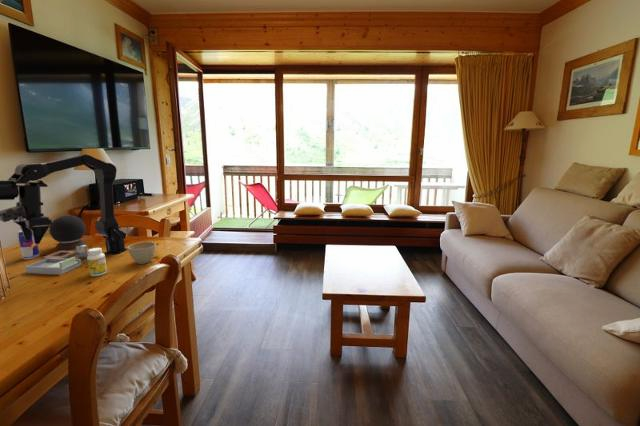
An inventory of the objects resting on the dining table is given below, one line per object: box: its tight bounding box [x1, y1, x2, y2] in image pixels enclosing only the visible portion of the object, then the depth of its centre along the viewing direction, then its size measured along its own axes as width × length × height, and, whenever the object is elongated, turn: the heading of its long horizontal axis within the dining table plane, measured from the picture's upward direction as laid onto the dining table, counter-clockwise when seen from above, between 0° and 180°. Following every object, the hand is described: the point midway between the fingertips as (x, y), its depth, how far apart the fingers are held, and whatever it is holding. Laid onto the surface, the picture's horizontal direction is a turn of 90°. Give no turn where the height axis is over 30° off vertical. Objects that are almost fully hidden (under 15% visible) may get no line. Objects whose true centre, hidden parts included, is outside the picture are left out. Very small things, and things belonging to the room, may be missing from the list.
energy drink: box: [16, 229, 40, 260], centre depth 129 cm, size 5×5×12 cm
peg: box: [75, 243, 89, 260], centre depth 130 cm, size 4×4×6 cm
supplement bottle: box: [86, 247, 108, 277], centre depth 114 cm, size 5×5×10 cm
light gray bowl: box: [127, 241, 157, 265], centre depth 126 cm, size 10×10×7 cm
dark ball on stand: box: [48, 214, 87, 251], centre depth 143 cm, size 13×13×15 cm
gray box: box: [24, 258, 82, 276], centre depth 119 cm, size 14×9×3 cm, turn 85°
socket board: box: [42, 250, 78, 260], centre depth 128 cm, size 8×8×2 cm
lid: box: [48, 257, 78, 270], centre depth 118 cm, size 7×7×3 cm
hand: (32, 241), depth 112 cm, fingers open, 9 cm apart
